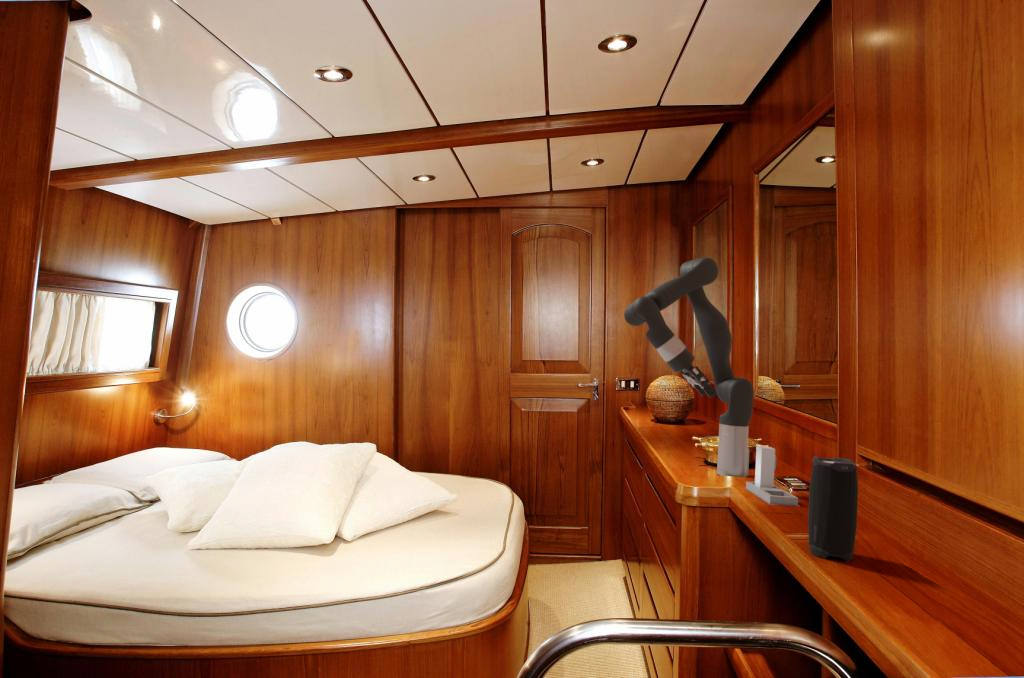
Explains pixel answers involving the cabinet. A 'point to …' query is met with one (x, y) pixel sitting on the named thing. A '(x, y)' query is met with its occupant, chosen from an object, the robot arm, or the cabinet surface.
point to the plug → (765, 466)
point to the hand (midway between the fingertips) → (710, 395)
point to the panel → (773, 495)
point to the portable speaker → (833, 507)
